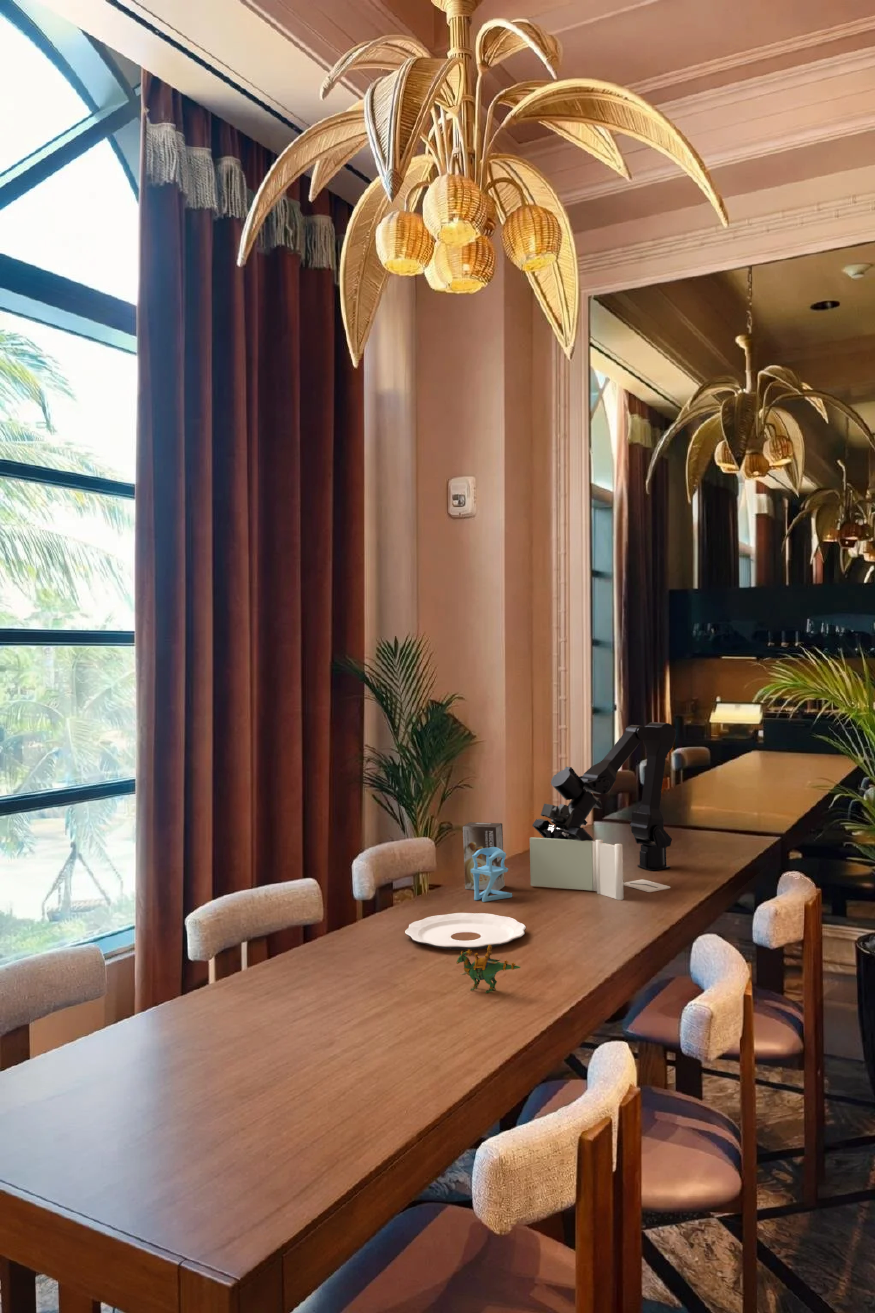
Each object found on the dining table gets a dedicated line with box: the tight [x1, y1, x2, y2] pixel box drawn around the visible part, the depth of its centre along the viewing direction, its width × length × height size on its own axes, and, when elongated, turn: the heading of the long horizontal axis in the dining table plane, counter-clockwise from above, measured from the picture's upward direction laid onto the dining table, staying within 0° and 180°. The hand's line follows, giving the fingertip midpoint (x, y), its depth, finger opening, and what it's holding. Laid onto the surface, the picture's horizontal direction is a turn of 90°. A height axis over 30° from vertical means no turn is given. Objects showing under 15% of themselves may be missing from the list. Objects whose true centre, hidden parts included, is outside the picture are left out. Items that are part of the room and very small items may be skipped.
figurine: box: [456, 945, 521, 994], centre depth 173 cm, size 3×12×8 cm, turn 67°
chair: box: [471, 847, 513, 903], centre depth 239 cm, size 8×8×12 cm
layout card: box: [623, 878, 671, 893], centre depth 247 cm, size 10×7×1 cm
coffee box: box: [462, 821, 505, 891], centre depth 250 cm, size 9×6×16 cm
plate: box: [404, 912, 527, 951], centre depth 207 cm, size 25×25×2 cm
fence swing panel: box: [529, 837, 597, 892], centre depth 246 cm, size 17×1×12 cm, turn 66°
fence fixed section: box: [595, 839, 624, 901], centre depth 238 cm, size 9×2×13 cm, turn 31°
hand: (544, 860), depth 249 cm, fingers closed
